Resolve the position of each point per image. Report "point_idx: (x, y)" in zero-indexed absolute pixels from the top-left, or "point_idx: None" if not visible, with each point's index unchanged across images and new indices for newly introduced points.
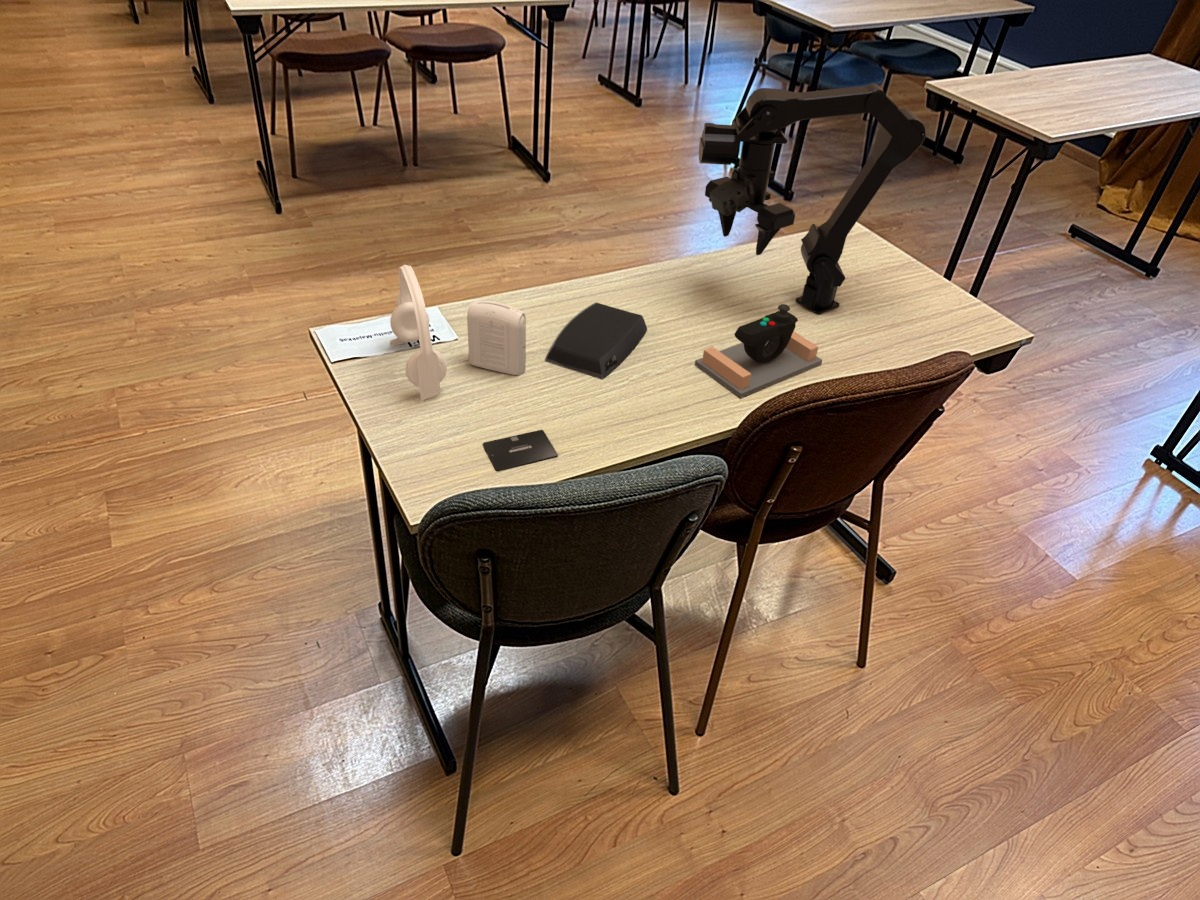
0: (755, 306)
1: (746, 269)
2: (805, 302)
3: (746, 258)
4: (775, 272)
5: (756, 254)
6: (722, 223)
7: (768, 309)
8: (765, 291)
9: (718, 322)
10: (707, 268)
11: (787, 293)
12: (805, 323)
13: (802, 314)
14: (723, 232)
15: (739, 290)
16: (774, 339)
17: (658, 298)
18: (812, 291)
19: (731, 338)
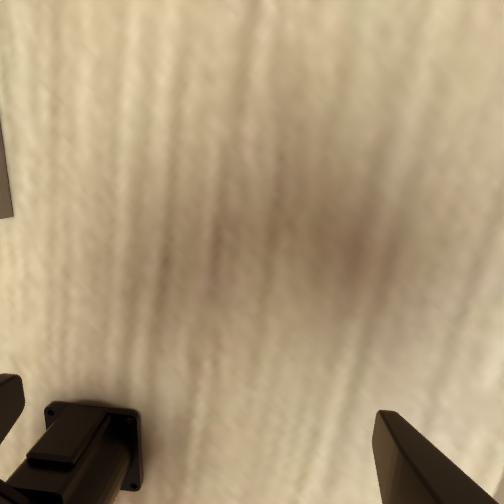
0: (175, 296)
1: (368, 446)
2: (83, 412)
3: None
4: (298, 492)
5: (9, 374)
6: (463, 500)
7: (141, 315)
8: (229, 389)
9: (157, 108)
10: (464, 356)
11: (185, 427)
12: (28, 340)
13: (72, 371)
14: (403, 429)
15: (282, 331)
16: None
17: (432, 21)
18: (36, 448)
19: (51, 68)
